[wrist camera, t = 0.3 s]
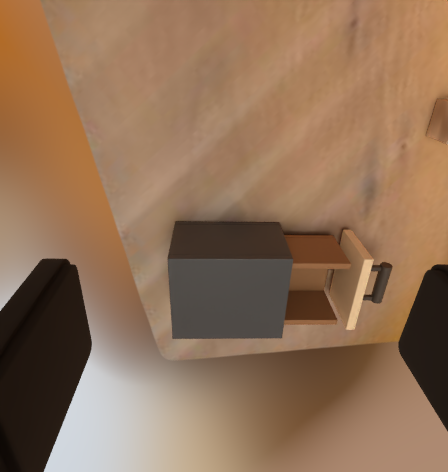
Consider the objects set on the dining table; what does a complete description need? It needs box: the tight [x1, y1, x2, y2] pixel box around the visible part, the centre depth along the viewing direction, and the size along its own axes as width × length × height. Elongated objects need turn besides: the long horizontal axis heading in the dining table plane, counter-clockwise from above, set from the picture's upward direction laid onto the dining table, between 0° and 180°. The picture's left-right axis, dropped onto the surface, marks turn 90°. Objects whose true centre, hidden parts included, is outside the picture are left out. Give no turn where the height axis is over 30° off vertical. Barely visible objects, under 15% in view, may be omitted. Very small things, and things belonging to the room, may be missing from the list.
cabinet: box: [168, 221, 293, 339], centre depth 48 cm, size 15×13×10 cm
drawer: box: [284, 230, 392, 330], centre depth 48 cm, size 18×12×8 cm, turn 89°
